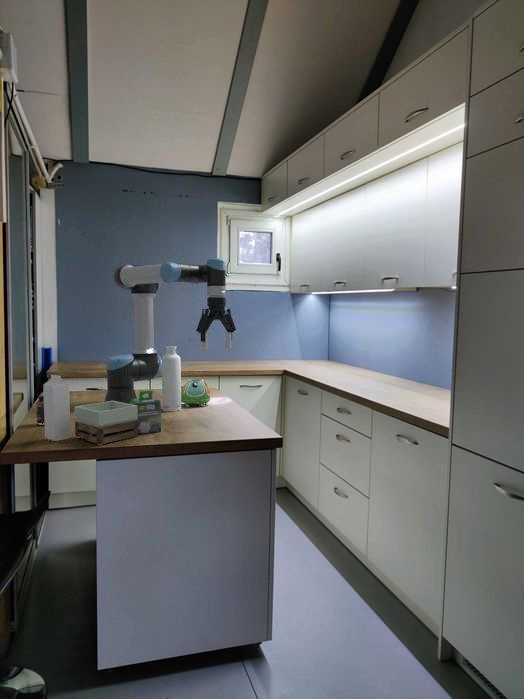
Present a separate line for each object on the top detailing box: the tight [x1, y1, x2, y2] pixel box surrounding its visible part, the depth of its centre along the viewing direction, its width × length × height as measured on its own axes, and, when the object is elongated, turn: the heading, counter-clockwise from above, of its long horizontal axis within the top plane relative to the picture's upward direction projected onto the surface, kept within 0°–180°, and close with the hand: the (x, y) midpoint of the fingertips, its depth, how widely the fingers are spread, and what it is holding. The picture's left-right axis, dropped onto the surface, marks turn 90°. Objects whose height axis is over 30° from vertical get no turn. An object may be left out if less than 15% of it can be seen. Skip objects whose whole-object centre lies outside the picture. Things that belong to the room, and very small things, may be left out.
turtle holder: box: [181, 378, 211, 408], centre depth 233 cm, size 12×18×12 cm
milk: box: [42, 374, 71, 440], centre depth 171 cm, size 6×6×22 cm
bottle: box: [161, 345, 182, 412], centre depth 222 cm, size 8×8×28 cm
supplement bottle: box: [35, 394, 45, 424], centre depth 194 cm, size 6×6×11 cm
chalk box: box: [131, 390, 162, 435], centre depth 184 cm, size 9×9×15 cm
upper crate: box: [74, 401, 138, 427], centre depth 173 cm, size 15×15×5 cm
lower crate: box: [74, 420, 139, 446], centre depth 174 cm, size 15×15×6 cm
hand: (216, 349), depth 207 cm, fingers open, 13 cm apart
